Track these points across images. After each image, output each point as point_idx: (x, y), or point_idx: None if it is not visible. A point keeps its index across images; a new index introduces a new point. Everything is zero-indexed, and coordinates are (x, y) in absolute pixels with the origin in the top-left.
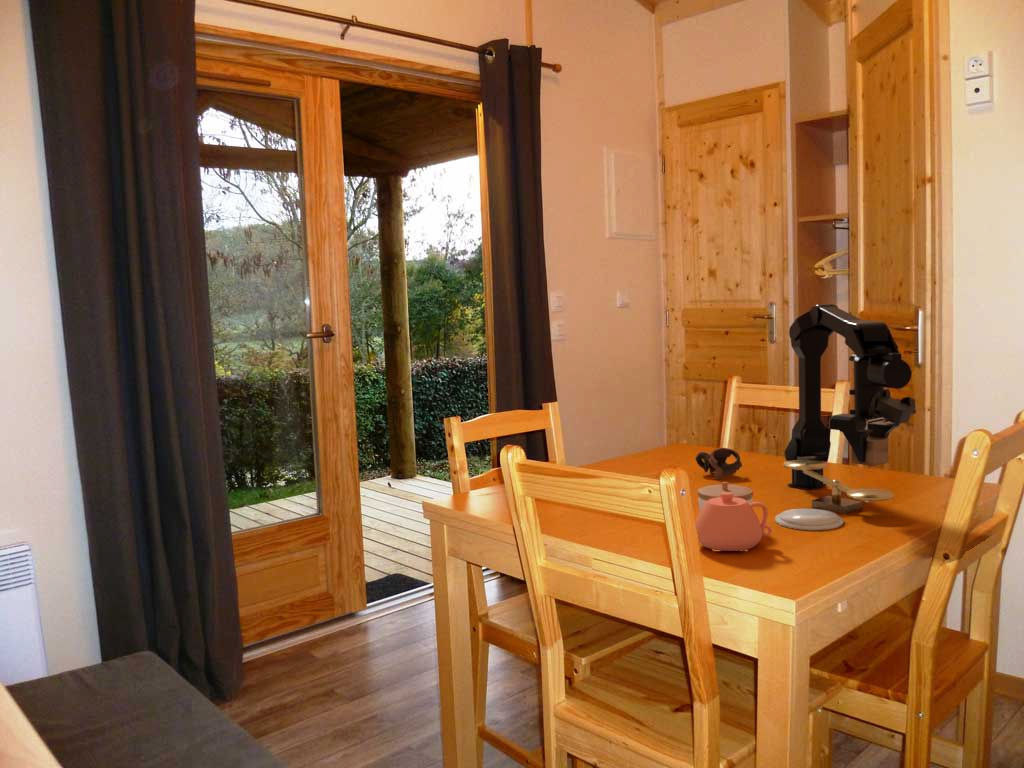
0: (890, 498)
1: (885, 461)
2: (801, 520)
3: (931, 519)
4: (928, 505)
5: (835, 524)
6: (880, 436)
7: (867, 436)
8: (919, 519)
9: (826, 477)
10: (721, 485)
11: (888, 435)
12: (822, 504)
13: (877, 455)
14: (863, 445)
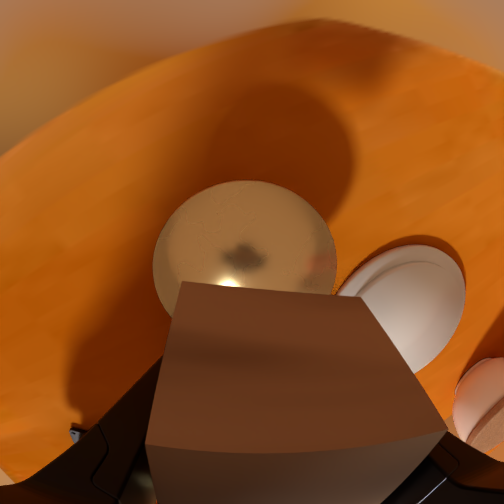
0: (255, 180)
1: (220, 292)
2: (450, 314)
3: (173, 66)
4: (24, 168)
5: (426, 252)
6: (134, 500)
7: (468, 485)
8: (196, 93)
9: None
10: (481, 447)
11: (49, 466)
12: None
13: (341, 336)
14: (446, 432)
